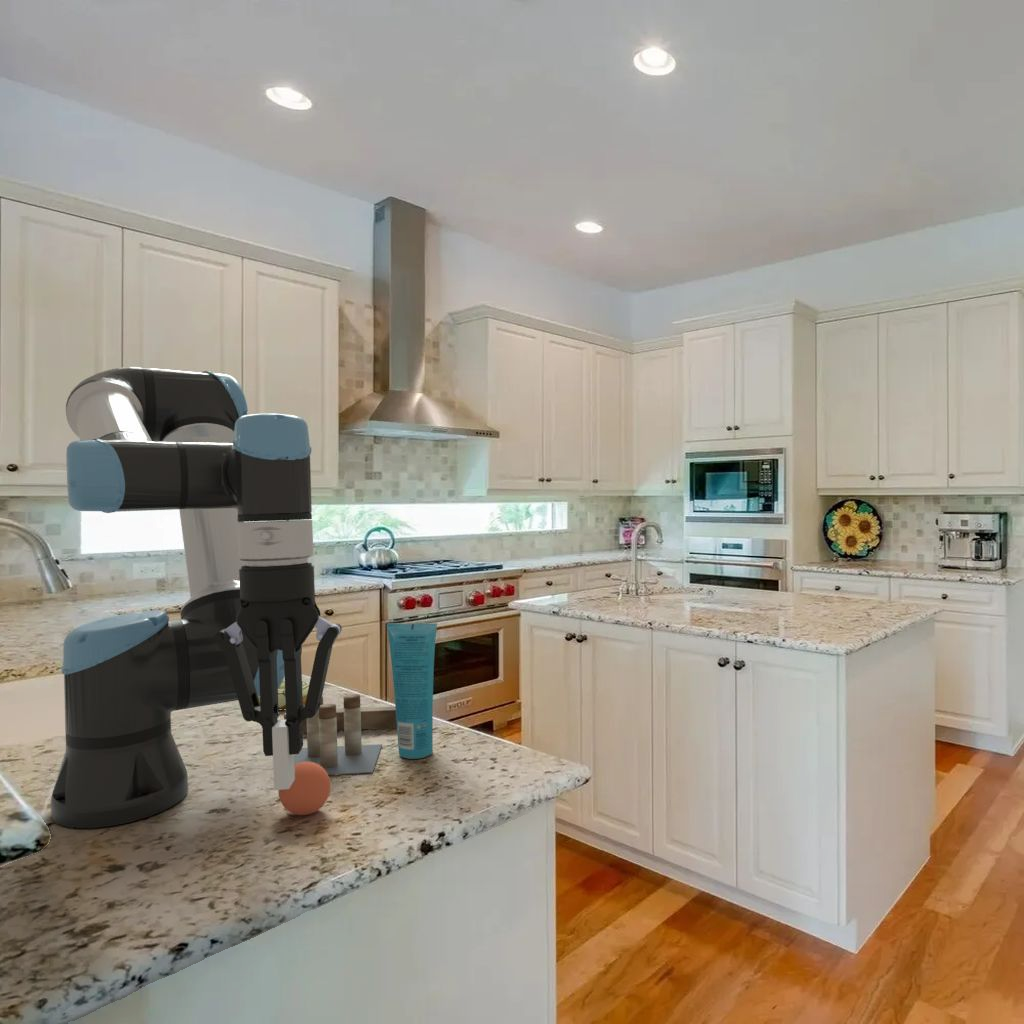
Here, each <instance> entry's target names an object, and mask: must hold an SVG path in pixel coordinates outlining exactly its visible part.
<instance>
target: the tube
mask: <svg viewBox="0 0 1024 1024" xmlns="http://www.w3.org/2000/svg"><path fill="white" fill-rule="evenodd" d="M437 628H438V623H437V622H435V623H434V622H433V623H432V622H431V623H430V622H429V623H403V622H402V623H400V622H399V623H398V622H396V623H395V622H393V623H392V622H390V623H389V622H388V623H386V630H387V635H388V636H387V637H388V643H389V651H390V652H389V653H390V659H391V667H392V668H391V669H392V670H391V672H392V682H393V693H394V695H393V696H394V707H395V708H396V721H397V728H396V730H397V732H396V733H397V744H398V745H397V747H398V755H399V756H400V757H401V758H404V759H408V760H414V759H415V760H416V759H423V758H426V757H428V756H430V755H432V754H433V751H434V750H433V747H434V745H433V743H434V742H433V727H434V725H433V722H434V721H433V720H434V718H433V716H434V715H433V712H434V711H433V710H434V709H433V708H434V707H433V706H434V703H433V702H434V701H433V700H434V669H435V668H434V667H435V649H436V639H437V630H438V629H437Z"/></svg>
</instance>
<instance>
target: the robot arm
mask: <svg viewBox="0 0 1024 1024" xmlns="http://www.w3.org/2000/svg"><path fill="white" fill-rule="evenodd" d="M66 400H67V401H66V403H65V415H66V421H67V423H68V426H69V427H70V429H71V431H72V432H73V434H75V435H76V437H77V438H79V440H74V441H72V442H70V443H69V444H68V445H67V447H66V452H65V453H66V483H67V484H66V486H67V487H66V488H67V499H68V504H69V506H70V507H71V508H72V509H73V510H75V511H78V512H102V513H106V514H111V513H117V512H119V513H120V512H141V511H167V510H168V511H171V510H174V511H175V510H179V518H180V525H181V533H182V542H183V548H184V556H185V562H186V563H185V564H186V572H187V573H186V574H187V578H188V587H189V593H190V595H189V596H190V598H189V599H188V600H187V601H186V602H185V603H184V604H183V605H182V606H181V609H180V619H173V620H170V617H169V615H168V614H167V612H166V610H162V609H150V610H145V611H143V610H142V611H134V612H127V613H123V614H117V615H113V616H109V617H105V618H101V619H97V620H95V621H91V622H87V623H85V624H82V625H80V626H78V627H76V628H74V629H73V630H72V631H70V632H69V633H67V635H66V636H65V638H64V641H63V647H62V650H63V651H62V666H61V668H60V672H61V674H62V675H63V688H64V725H65V726H64V728H65V752H64V756H63V759H62V761H61V765H60V768H59V771H58V775H57V777H56V779H55V780H56V781H55V783H54V787H53V790H52V793H51V796H50V797H51V798H50V813H51V814H50V818H51V820H52V821H53V822H54V823H55V824H56V825H59V826H61V827H62V826H63V827H65V826H67V827H66V828H71V829H72V828H74V827H76V828H75V829H94V828H95V829H96V828H106V827H111V826H117V825H122V824H128V823H131V822H135V821H136V822H137V821H139V820H143V819H145V818H149V817H151V816H155V815H157V814H160V813H161V812H163V811H166V810H167V809H170V808H171V807H173V806H175V805H176V804H178V803H179V802H181V801H182V800H183V799H184V798H185V797H186V796H187V794H188V792H189V777H188V770H187V768H186V765H185V763H184V760H183V758H182V756H181V753H180V750H179V749H178V746H177V743H176V741H175V739H174V736H173V734H172V733H173V732H172V720H171V719H172V718H171V717H172V712H176V711H180V710H181V711H182V710H186V709H193V708H200V707H205V706H210V705H211V706H212V705H219V704H222V703H223V704H224V703H229V702H236V701H238V704H239V708H240V711H241V714H242V718H243V720H244V721H246V722H255V723H257V724H259V725H260V726H261V728H262V749H263V750H262V751H263V753H264V756H265V757H270V756H272V765H273V769H272V770H273V790H274V791H278V790H282V789H289V788H290V786H291V785H292V783H293V782H294V780H295V768H294V754H299V753H300V751H301V750H302V748H304V747H303V746H304V734H303V733H304V732H303V724H302V723H303V720H305V719H308V718H312V717H313V716H314V715H315V714H316V712H317V711H318V710H319V708H320V704H321V699H322V697H323V694H324V688H325V683H326V679H327V675H328V668H329V664H330V660H331V654H332V650H333V645H334V644H335V642H336V641H337V639H338V637H339V635H341V632H342V628H343V627H342V626H341V625H340V623H335V622H334V623H332V622H331V621H329V620H327V619H325V618H324V617H323V616H321V610H320V608H319V607H318V605H317V602H316V593H315V591H316V590H315V588H316V586H315V565H313V563H312V562H309V559H310V558H312V557H313V556H314V553H315V552H314V533H313V520H312V519H313V517H312V512H313V511H312V482H311V481H312V477H311V475H312V474H311V472H312V471H311V455H312V447H311V443H310V436H309V435H310V434H309V427H308V423H307V422H306V420H305V419H304V418H303V417H301V416H297V415H293V414H282V413H254V414H248V409H249V408H248V404H247V400H246V396H245V393H244V391H243V388H242V387H241V384H240V383H239V381H238V380H237V379H236V378H235V377H233V376H232V375H230V374H226V373H216V372H212V371H208V370H204V371H201V372H197V371H187V370H186V371H185V370H175V369H174V370H173V369H161V368H148V367H139V366H125V367H123V366H122V367H117V368H112V369H107V370H104V371H100V372H97V373H95V374H94V375H90V376H89V377H87V378H85V379H83V380H82V381H80V382H79V383H78V384H77V385H76V386H75V387H74V388H73V389H72V390H71V391H70V393H69V396H67V399H66ZM314 628H315V629H316V634H315V637H316V640H318V641H319V642H318V645H317V647H316V651H315V655H314V661H313V665H312V669H311V675H310V679H309V682H308V683H309V688H308V693H307V698H306V703H305V705H303V696H302V681H303V675H302V674H303V672H302V670H303V669H302V652H303V644H304V643H305V642H306V640H307V638H308V637H309V636H310V634H311V633H312V631H313V630H314ZM283 681H285V700H286V710H285V713H286V720H284V719H278V718H279V716H280V715H281V711H279V710H278V688H279V687H280V685H281V684H282V682H283ZM258 696H260V702H259V699H258Z"/></svg>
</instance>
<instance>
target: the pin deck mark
mask: <svg viewBox="0 0 1024 1024" xmlns="http://www.w3.org/2000/svg"><path fill="white" fill-rule="evenodd" d="M382 745H383V744H382V743H381V744H380V743H379V744H362V752H361V753H360V754H358V755H346V754H345V745H340V746H339V745H337V753H338V765H337V766H334V767H331V768H324V769H325V771H326V772H327V774H328V775H329V776H336V775H335V774H349V775H360V774H359V773H370V774H373V773H374V771H373V770H375V768H374V767H376V765H375V764H377V761H378V758H379V755H380V753H381V749H382ZM300 762H314V763H316V764H319V765H320V756H319V757H309V756H308V748H307V747H302V750H301V751H300V753H299V754H294V765H295V764H297V763H300ZM355 773H356V774H355ZM332 774H333V775H332Z"/></svg>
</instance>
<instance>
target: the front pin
mask: <svg viewBox="0 0 1024 1024" xmlns="http://www.w3.org/2000/svg"><path fill="white" fill-rule="evenodd" d="M336 709H337V704H335V703H323V705H320V708H319V741H320V766H322V767H323V768H331V767H334V766H337V765H338V753H337V746H338V731H337V719H336Z"/></svg>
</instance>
